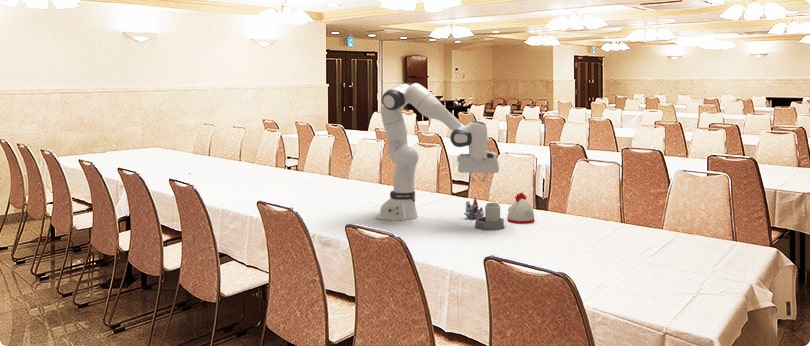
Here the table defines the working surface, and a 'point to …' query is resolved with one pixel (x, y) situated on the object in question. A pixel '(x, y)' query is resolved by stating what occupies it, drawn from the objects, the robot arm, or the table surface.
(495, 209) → the can
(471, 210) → the brake caliper
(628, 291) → the table surface
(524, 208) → the kitchen timer
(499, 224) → the steel ring
